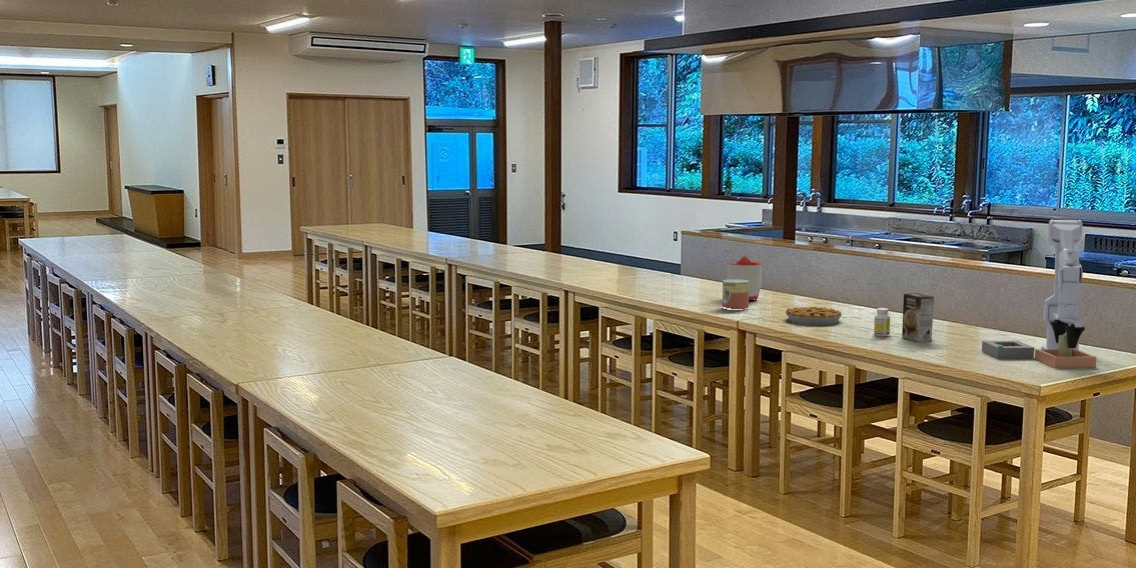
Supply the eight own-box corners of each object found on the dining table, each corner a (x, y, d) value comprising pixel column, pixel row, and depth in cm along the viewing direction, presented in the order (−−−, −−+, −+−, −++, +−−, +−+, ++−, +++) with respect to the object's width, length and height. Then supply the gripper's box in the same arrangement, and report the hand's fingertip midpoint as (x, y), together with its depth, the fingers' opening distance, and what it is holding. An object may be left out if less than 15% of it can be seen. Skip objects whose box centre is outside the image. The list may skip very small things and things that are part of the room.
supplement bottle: (886, 333, 373) (887, 307, 371) (891, 336, 367) (892, 310, 366) (871, 333, 372) (872, 307, 371) (876, 336, 367) (877, 310, 366)
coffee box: (901, 337, 365) (902, 293, 363) (915, 336, 368) (917, 292, 365) (918, 342, 357) (919, 296, 355) (932, 340, 359) (934, 295, 357)
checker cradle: (1016, 350, 341) (1017, 338, 340) (1033, 358, 329) (1034, 345, 329) (981, 351, 341) (982, 339, 340) (997, 358, 329) (998, 346, 328)
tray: (1074, 358, 328) (1074, 348, 327) (1095, 367, 315) (1096, 357, 315) (1034, 359, 328) (1035, 349, 327) (1054, 367, 315) (1055, 357, 314)
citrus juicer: (739, 295, 468) (739, 252, 465) (768, 299, 455) (769, 255, 452) (716, 299, 458) (717, 255, 455) (746, 303, 445) (747, 258, 442)
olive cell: (1067, 359, 323) (1069, 332, 322) (1073, 361, 319) (1075, 335, 318) (1055, 359, 323) (1056, 333, 322) (1061, 362, 319) (1062, 335, 318)
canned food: (716, 307, 434) (717, 280, 432) (738, 305, 439) (739, 278, 437) (731, 311, 424) (732, 283, 422) (754, 309, 429) (754, 281, 427)
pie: (793, 326, 389) (793, 314, 388) (779, 317, 411) (779, 305, 410) (849, 326, 390) (849, 313, 389) (832, 316, 411) (832, 304, 411)
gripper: (1044, 299, 326) (1042, 341, 328) (1067, 307, 311) (1064, 350, 313) (1066, 299, 326) (1063, 340, 328) (1090, 306, 312) (1087, 350, 314)
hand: (1065, 345), depth 321 cm, fingers open, 7 cm apart
